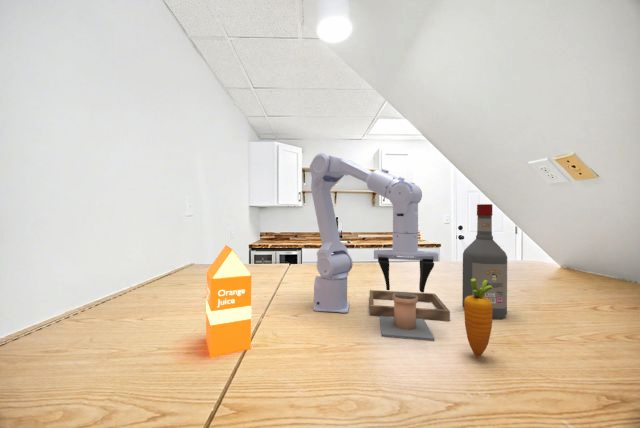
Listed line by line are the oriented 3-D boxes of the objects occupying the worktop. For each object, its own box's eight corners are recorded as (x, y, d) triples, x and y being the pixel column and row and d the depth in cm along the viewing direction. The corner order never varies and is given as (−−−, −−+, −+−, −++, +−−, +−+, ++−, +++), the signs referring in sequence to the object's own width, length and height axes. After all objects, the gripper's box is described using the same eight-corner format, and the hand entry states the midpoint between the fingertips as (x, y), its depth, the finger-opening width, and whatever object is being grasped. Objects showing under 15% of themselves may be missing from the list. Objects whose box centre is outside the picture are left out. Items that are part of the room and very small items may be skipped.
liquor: (511, 319, 71) (512, 204, 71) (475, 319, 71) (476, 203, 71) (491, 307, 80) (491, 205, 80) (459, 307, 80) (459, 205, 81)
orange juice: (209, 357, 51) (210, 250, 51) (205, 338, 59) (206, 245, 59) (251, 348, 55) (252, 248, 55) (242, 331, 62) (243, 243, 62)
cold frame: (369, 315, 73) (369, 305, 73) (369, 297, 89) (369, 289, 89) (449, 321, 70) (449, 311, 70) (434, 301, 86) (434, 293, 86)
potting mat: (381, 336, 61) (381, 334, 61) (379, 318, 71) (379, 316, 71) (434, 340, 59) (434, 338, 59) (424, 321, 69) (424, 319, 69)
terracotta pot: (392, 329, 63) (393, 298, 63) (391, 319, 69) (391, 291, 69) (419, 331, 62) (419, 300, 62) (416, 321, 68) (416, 292, 68)
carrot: (484, 351, 54) (485, 275, 54) (498, 365, 49) (499, 281, 49) (458, 349, 55) (459, 274, 55) (469, 363, 50) (470, 280, 50)
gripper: (434, 232, 68) (433, 287, 68) (374, 231, 70) (373, 284, 70) (440, 234, 61) (440, 296, 61) (373, 232, 64) (373, 291, 63)
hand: (404, 290), depth 65 cm, fingers open, 7 cm apart
